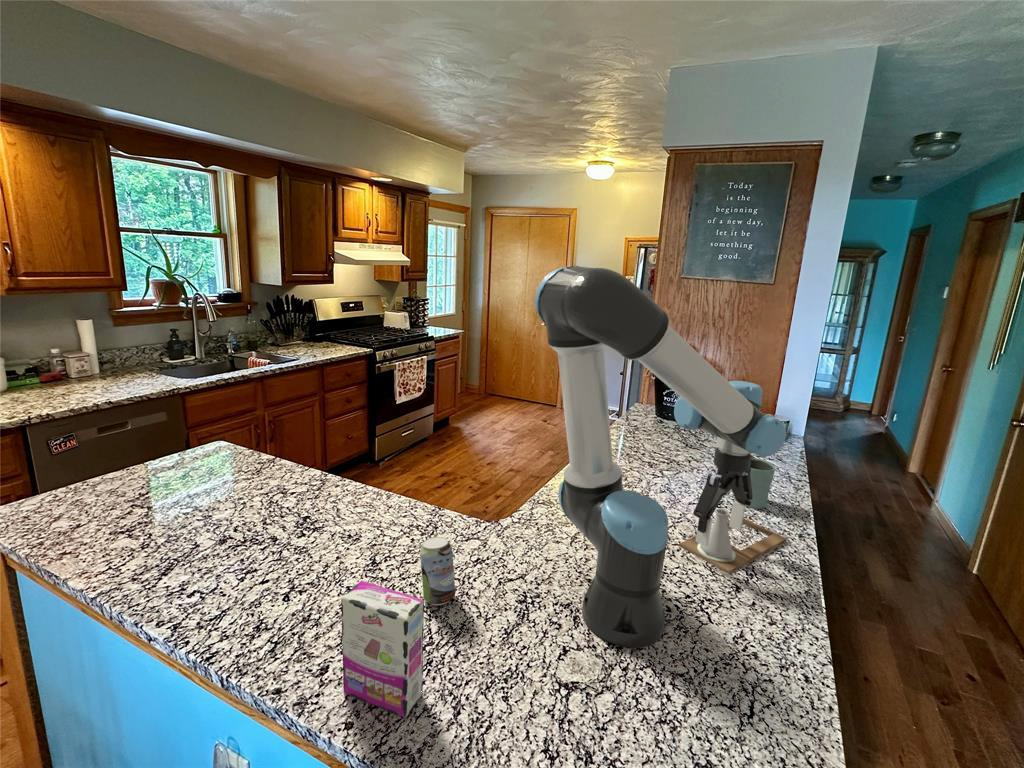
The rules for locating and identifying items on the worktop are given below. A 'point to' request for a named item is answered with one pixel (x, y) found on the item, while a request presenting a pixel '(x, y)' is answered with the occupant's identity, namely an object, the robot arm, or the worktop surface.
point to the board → (738, 555)
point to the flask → (719, 537)
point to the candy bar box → (383, 647)
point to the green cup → (760, 482)
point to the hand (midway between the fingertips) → (718, 535)
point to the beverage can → (437, 570)
